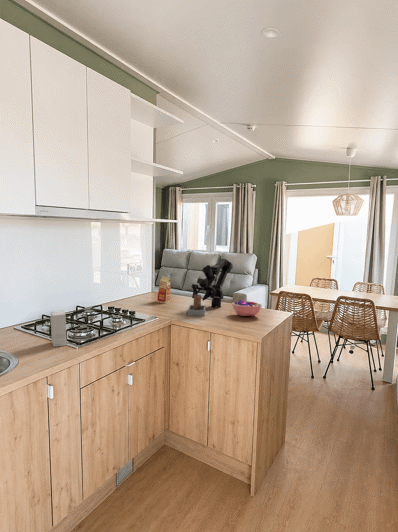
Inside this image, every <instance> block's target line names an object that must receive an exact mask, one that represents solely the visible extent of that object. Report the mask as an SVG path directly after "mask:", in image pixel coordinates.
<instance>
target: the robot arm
mask: <svg viewBox="0 0 398 532" xmlns="http://www.w3.org/2000/svg"><path fill="white" fill-rule="evenodd" d="M233 267H234V266H233V263H232V262H231V261H229V260H228V259H226V258H220V259H219V261H218V262H216V263H215V264H214V265H208V264H207V265H206V266H204V267H203V268H202V272H203V274H204V277H205V278H204V279H203V278H199V277H198V278H197V280H196V283H192V285H191V289H192V296H191V299H194V295H199V292H200V291H203V292H205V294H204V295H203V297H202V298H201V301H203V302H204V301H205V300H207V299H209V298H210V299H211V307H212V308H222V300H224V293H223V289H222V288H223V285H224V283H225V280H226V278H227V276H228V274H229V273H230V272H232V270H233V269H234V268H233ZM220 270H221V271H220ZM218 275H219V276H218ZM216 276H218V279H217V278H216ZM214 281H215V282H216V284H213V283H214Z"/></svg>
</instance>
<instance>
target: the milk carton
mask: <svg viewBox="0 0 398 532" xmlns="http://www.w3.org/2000/svg"><path fill="white" fill-rule="evenodd" d="M171 287H172V286H171V277H167V276H164V275H161V279H160V281H159V286H158V290H157V295H156V296H157V297H156V303H159V302H160V304H168V303H171V299H172V293H171Z"/></svg>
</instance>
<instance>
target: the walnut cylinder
mask: <svg viewBox="0 0 398 532" xmlns="http://www.w3.org/2000/svg"><path fill="white" fill-rule="evenodd" d="M192 305H193V310H201V305H202V295H201V294H197V295H194V298H193V304H192Z"/></svg>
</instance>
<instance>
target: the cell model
mask: <svg viewBox="0 0 398 532" xmlns="http://www.w3.org/2000/svg"><path fill="white" fill-rule="evenodd" d="M231 305H232V308H233V310H234V312H235V313H236V315H239V316H241V317H255V316H256V315H259V312H260V311H261V310H262V307H263V304H261V303H257V302H254V301H249V300H248V301H247V300H243V298H241V299H238V300H237V301H233V302H231Z"/></svg>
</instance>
